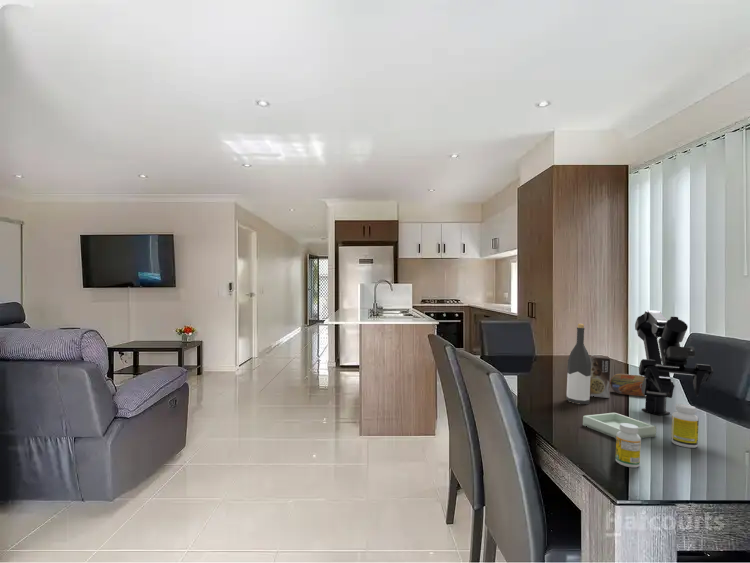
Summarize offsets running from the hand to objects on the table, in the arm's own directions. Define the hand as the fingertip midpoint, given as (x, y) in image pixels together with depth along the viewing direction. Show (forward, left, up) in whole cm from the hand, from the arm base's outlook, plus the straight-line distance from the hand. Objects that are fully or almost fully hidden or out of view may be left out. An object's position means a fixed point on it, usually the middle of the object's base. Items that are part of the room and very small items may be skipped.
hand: (679, 393), depth 130 cm
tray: (+14, -9, -13) cm, 21 cm away
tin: (-33, -42, -13) cm, 55 cm away
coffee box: (-16, -44, -13) cm, 48 cm away
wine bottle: (0, -38, -13) cm, 40 cm away
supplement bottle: (+34, +10, -13) cm, 38 cm away
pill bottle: (+5, +5, -13) cm, 15 cm away
